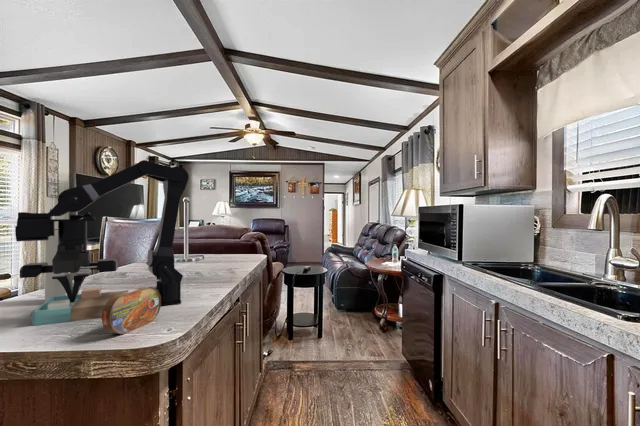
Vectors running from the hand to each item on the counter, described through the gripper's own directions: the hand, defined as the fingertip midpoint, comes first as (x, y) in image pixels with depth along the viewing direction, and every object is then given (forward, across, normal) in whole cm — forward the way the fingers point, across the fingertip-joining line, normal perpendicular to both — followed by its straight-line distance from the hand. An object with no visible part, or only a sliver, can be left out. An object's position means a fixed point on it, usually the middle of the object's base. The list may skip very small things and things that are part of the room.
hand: (72, 302), depth 80 cm
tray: (+4, -3, +4) cm, 6 cm away
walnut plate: (+4, +6, +4) cm, 8 cm away
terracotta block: (+1, +3, +8) cm, 9 cm away
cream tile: (+2, -2, 0) cm, 3 cm away
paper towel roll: (+4, -7, +20) cm, 22 cm away
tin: (+4, +14, -16) cm, 21 cm away
